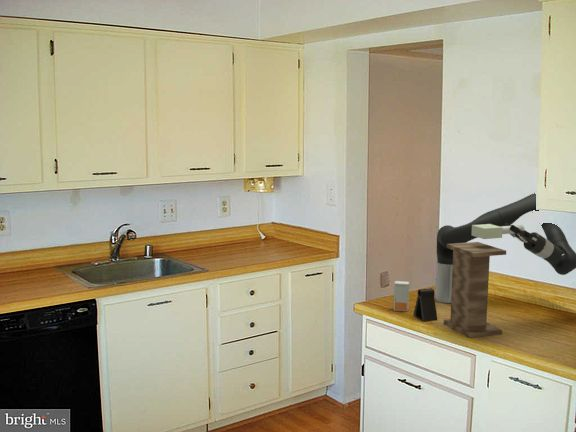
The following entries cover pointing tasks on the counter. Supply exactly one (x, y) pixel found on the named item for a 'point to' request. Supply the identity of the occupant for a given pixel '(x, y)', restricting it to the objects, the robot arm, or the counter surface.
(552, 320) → the counter surface
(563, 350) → the counter surface
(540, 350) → the counter surface
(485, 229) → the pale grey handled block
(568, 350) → the counter surface
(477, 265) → the walnut stand
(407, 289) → the skincare box
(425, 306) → the phone stand
